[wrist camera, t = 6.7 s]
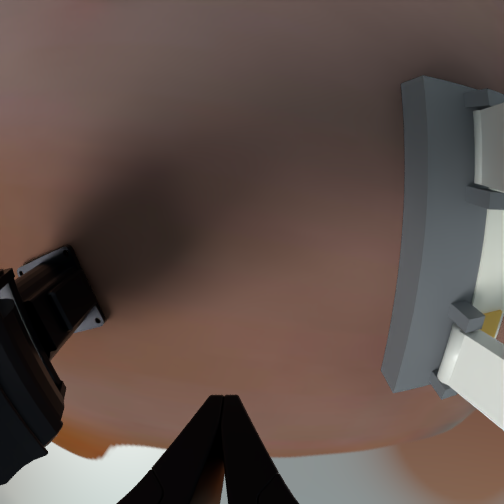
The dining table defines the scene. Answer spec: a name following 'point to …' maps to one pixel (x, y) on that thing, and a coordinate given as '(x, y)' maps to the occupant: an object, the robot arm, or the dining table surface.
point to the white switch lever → (476, 371)
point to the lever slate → (489, 147)
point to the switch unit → (443, 235)
